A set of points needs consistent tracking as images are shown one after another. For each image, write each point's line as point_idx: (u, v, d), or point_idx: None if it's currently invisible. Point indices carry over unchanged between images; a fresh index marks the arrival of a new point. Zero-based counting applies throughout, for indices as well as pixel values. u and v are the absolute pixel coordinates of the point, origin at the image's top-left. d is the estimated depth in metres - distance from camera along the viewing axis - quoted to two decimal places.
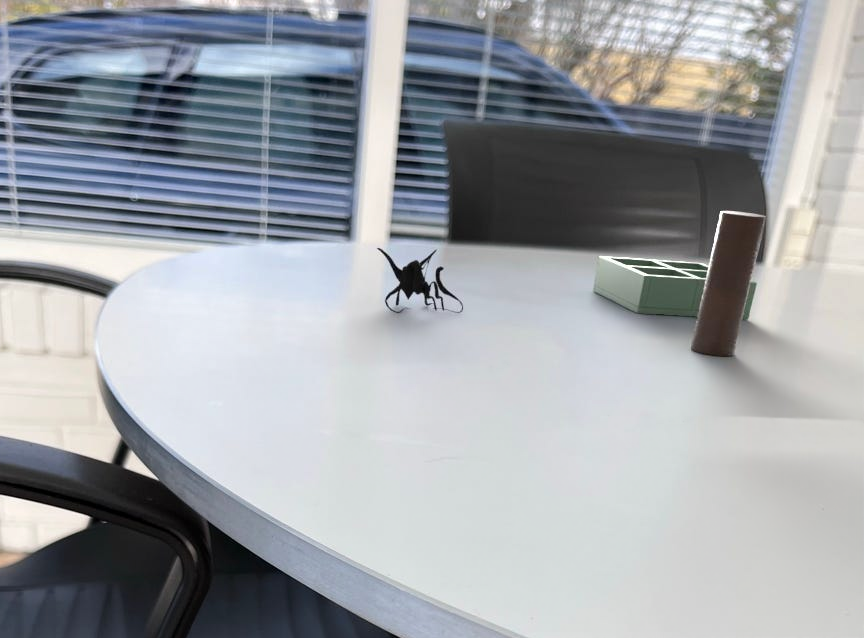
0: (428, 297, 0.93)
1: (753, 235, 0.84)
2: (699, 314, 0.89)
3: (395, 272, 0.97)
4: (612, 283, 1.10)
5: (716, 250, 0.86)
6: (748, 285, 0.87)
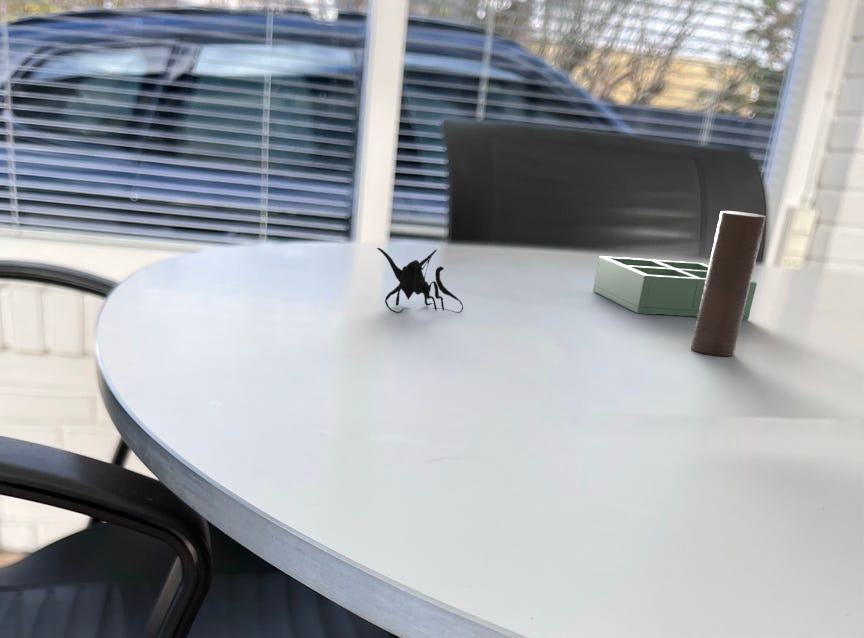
0: (428, 297, 0.93)
1: (753, 235, 0.84)
2: (699, 314, 0.89)
3: (395, 272, 0.97)
4: (612, 283, 1.10)
5: (716, 250, 0.86)
6: (748, 285, 0.87)
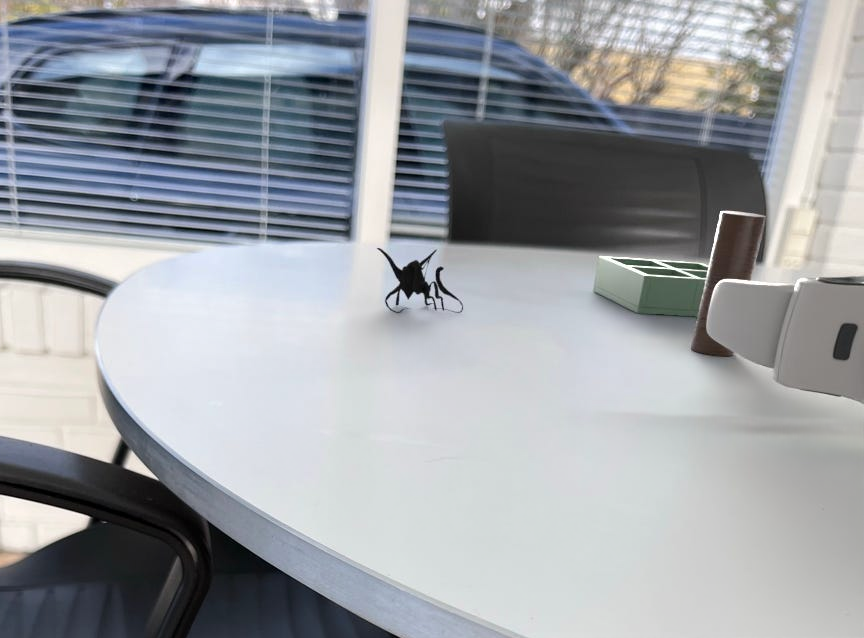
0: (428, 297, 0.93)
1: (753, 235, 0.84)
2: (699, 314, 0.89)
3: (395, 272, 0.97)
4: (612, 283, 1.10)
5: (716, 250, 0.86)
6: None
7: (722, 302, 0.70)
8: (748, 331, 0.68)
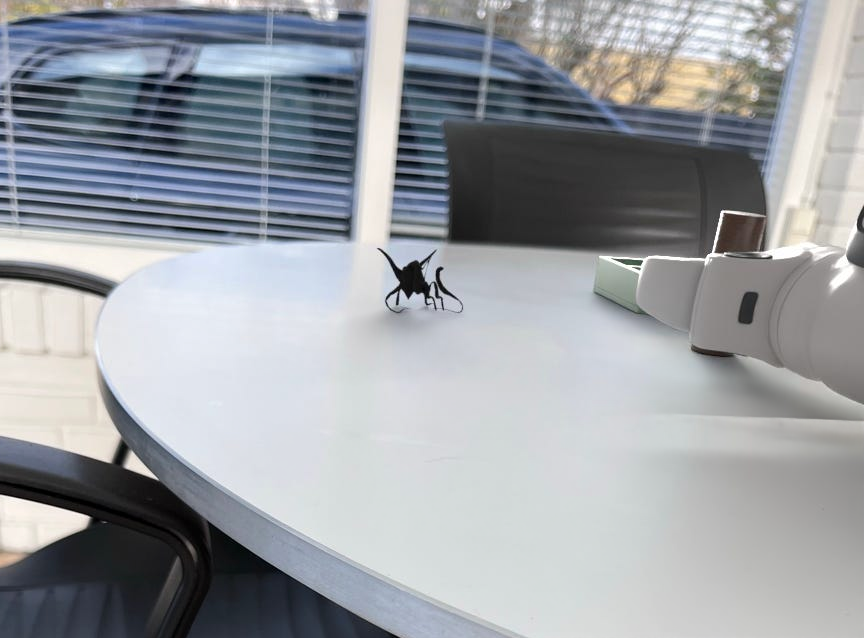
0: (428, 297, 0.93)
1: (754, 235, 0.84)
2: None
3: (395, 272, 0.97)
4: (612, 283, 1.10)
5: (717, 250, 0.86)
6: None
7: (648, 276, 0.80)
8: (668, 300, 0.78)
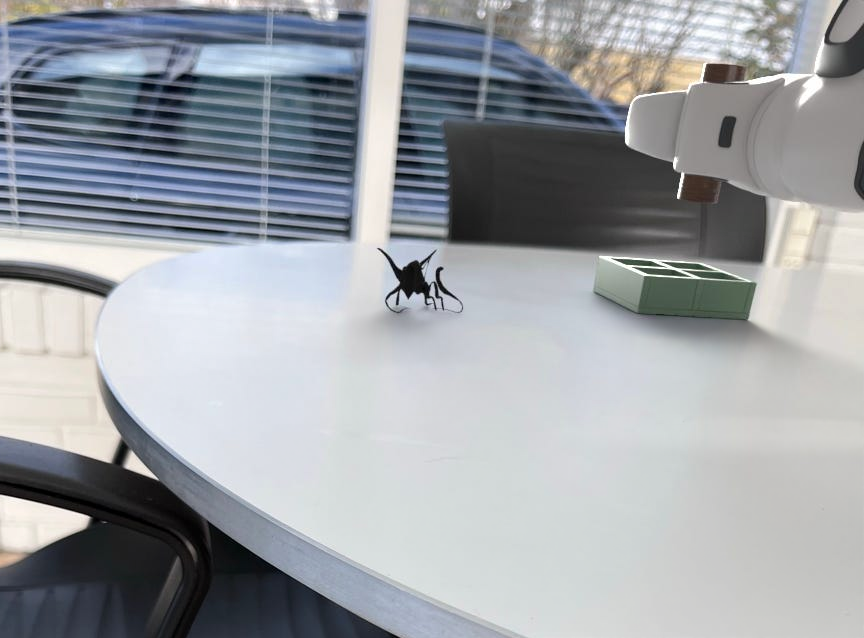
0: (428, 297, 0.93)
1: None
2: None
3: (395, 272, 0.97)
4: (612, 283, 1.10)
5: None
6: None
7: (636, 114, 0.87)
8: (654, 133, 0.84)
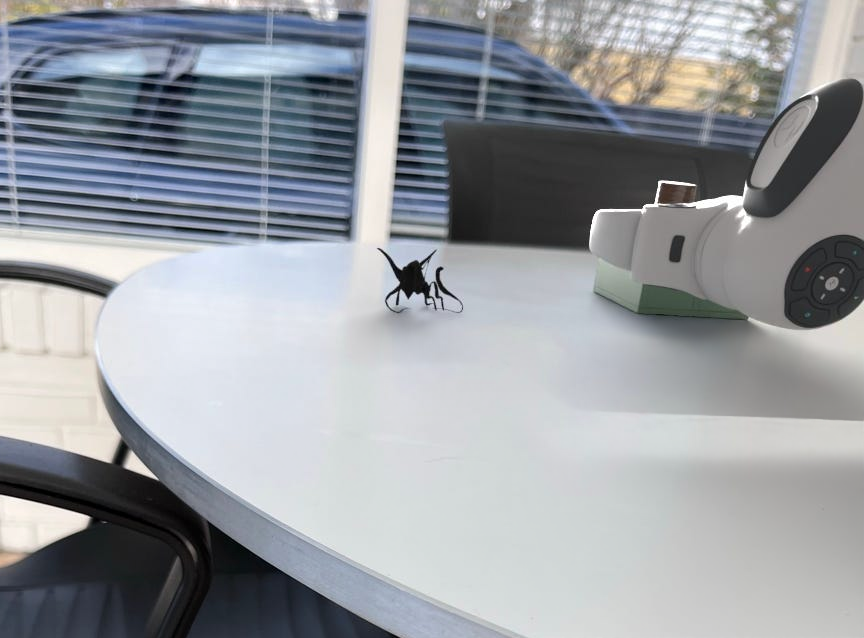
0: (428, 297, 0.93)
1: (686, 201, 1.01)
2: None
3: (395, 272, 0.97)
4: (612, 283, 1.10)
5: None
6: None
7: (598, 226, 0.96)
8: (614, 245, 0.94)
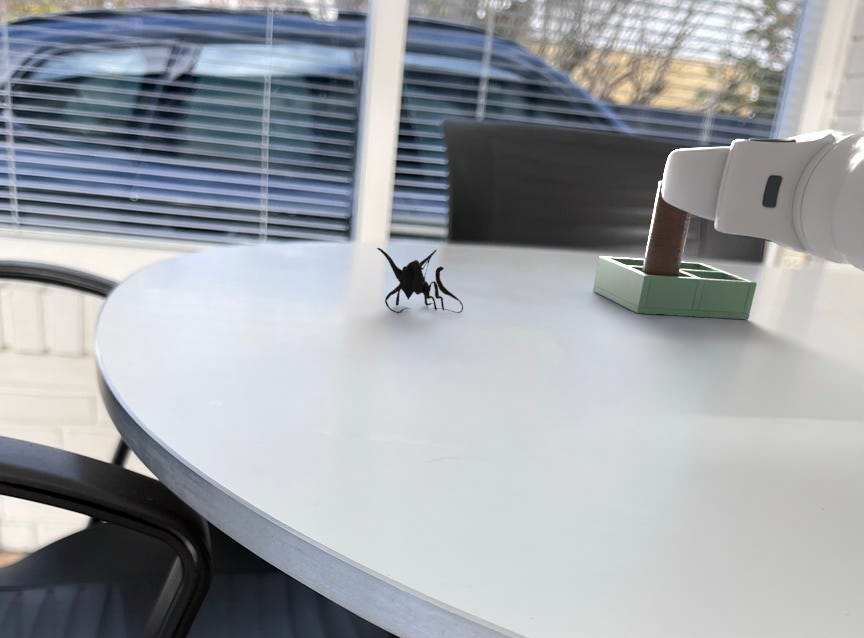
0: (428, 297, 0.93)
1: None
2: (643, 268, 1.06)
3: (395, 272, 0.97)
4: (612, 283, 1.10)
5: (656, 214, 1.03)
6: (683, 243, 1.03)
7: (674, 168, 0.83)
8: (694, 189, 0.80)
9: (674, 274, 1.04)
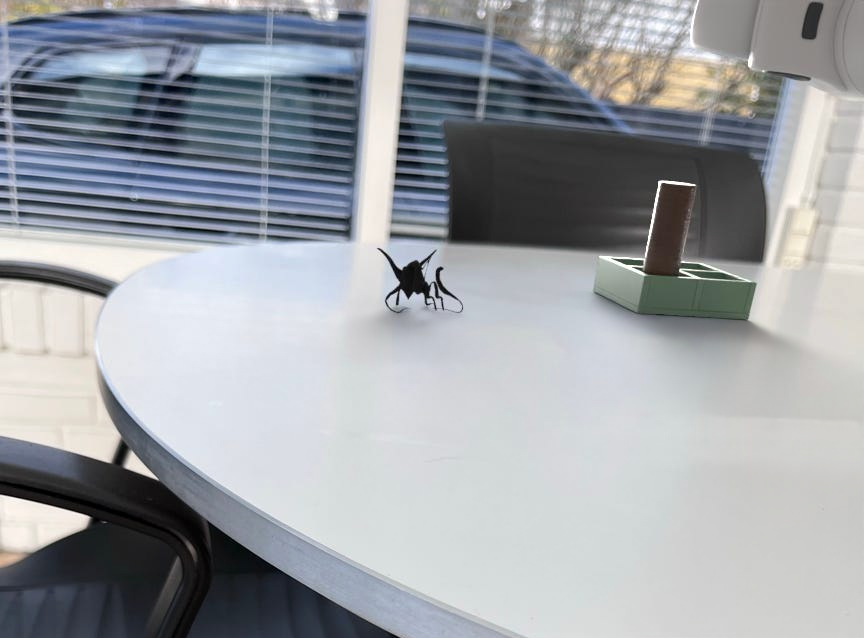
0: (428, 297, 0.93)
1: (686, 201, 1.01)
2: (643, 268, 1.06)
3: (395, 272, 0.97)
4: (612, 283, 1.10)
5: (656, 214, 1.03)
6: (683, 243, 1.03)
7: (704, 9, 0.77)
8: (727, 27, 0.75)
9: (674, 274, 1.04)
